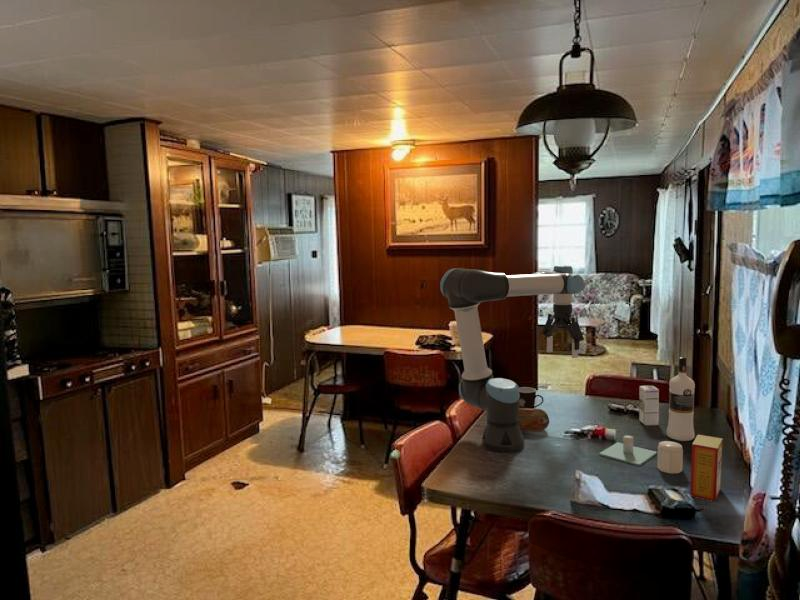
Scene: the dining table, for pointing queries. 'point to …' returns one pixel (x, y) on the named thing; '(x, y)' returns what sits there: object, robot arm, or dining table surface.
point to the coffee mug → (528, 398)
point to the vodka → (681, 405)
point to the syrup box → (648, 405)
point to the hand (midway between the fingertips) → (561, 354)
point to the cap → (670, 457)
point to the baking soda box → (706, 467)
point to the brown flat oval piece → (533, 419)
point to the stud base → (628, 458)
